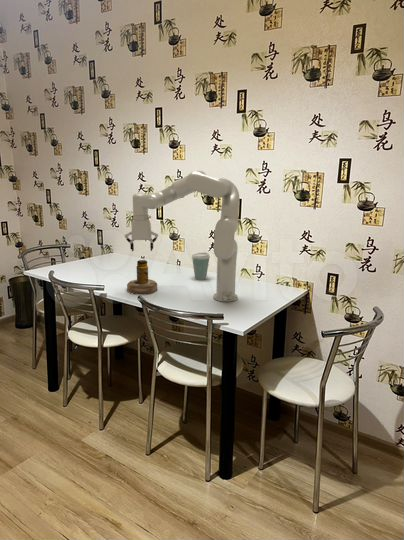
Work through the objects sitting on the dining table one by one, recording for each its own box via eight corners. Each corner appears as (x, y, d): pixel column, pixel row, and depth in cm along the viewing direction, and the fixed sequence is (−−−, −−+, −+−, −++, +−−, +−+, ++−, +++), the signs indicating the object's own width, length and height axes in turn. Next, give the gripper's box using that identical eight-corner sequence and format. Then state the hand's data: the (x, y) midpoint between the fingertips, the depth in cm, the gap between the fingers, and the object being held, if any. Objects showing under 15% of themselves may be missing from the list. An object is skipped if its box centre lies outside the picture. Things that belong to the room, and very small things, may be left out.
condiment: (151, 283, 229) (150, 261, 226) (136, 285, 225) (136, 263, 221) (145, 280, 235) (144, 258, 232) (130, 282, 230) (130, 260, 227)
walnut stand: (157, 294, 224) (156, 287, 223) (125, 294, 222) (125, 287, 221) (157, 285, 239) (157, 278, 238) (128, 285, 238) (128, 278, 237)
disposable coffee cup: (194, 281, 247) (194, 256, 243) (189, 276, 257) (189, 252, 253) (211, 280, 250) (212, 255, 246) (206, 275, 260) (207, 251, 256)
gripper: (157, 216, 225) (158, 248, 229) (124, 217, 224) (126, 249, 228) (157, 218, 218) (158, 251, 222) (123, 219, 216) (124, 252, 221)
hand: (142, 250), depth 225 cm, fingers open, 9 cm apart
